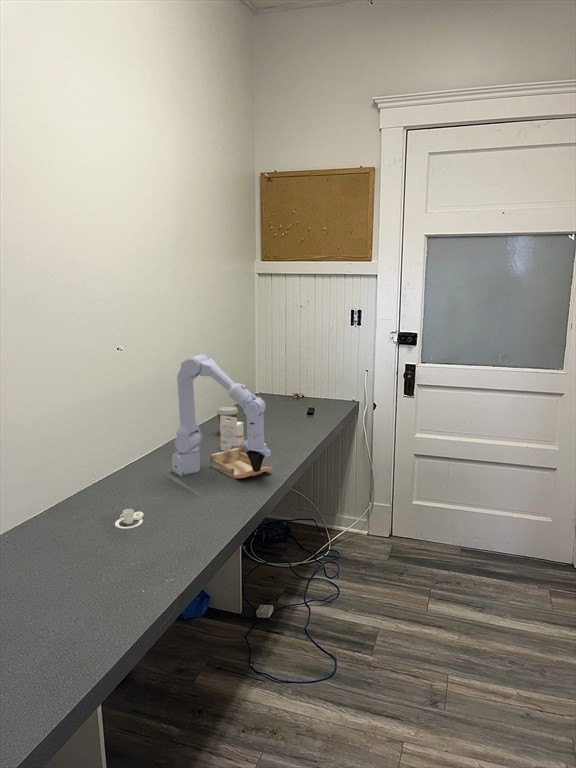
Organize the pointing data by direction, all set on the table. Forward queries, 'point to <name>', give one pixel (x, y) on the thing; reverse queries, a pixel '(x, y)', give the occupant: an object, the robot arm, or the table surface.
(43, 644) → the table surface
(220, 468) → the tray
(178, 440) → the robot arm
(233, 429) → the ink cartridge box
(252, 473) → the panel
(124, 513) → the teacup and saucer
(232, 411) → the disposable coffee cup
